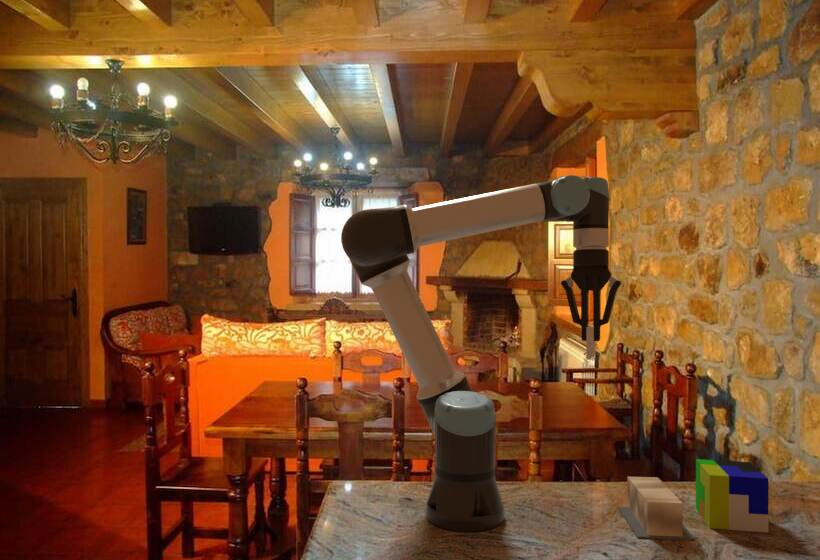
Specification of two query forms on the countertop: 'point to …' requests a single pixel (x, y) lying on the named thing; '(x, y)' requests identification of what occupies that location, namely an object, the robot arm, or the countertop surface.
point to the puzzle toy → (732, 495)
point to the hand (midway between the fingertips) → (590, 356)
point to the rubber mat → (641, 532)
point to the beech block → (655, 506)
